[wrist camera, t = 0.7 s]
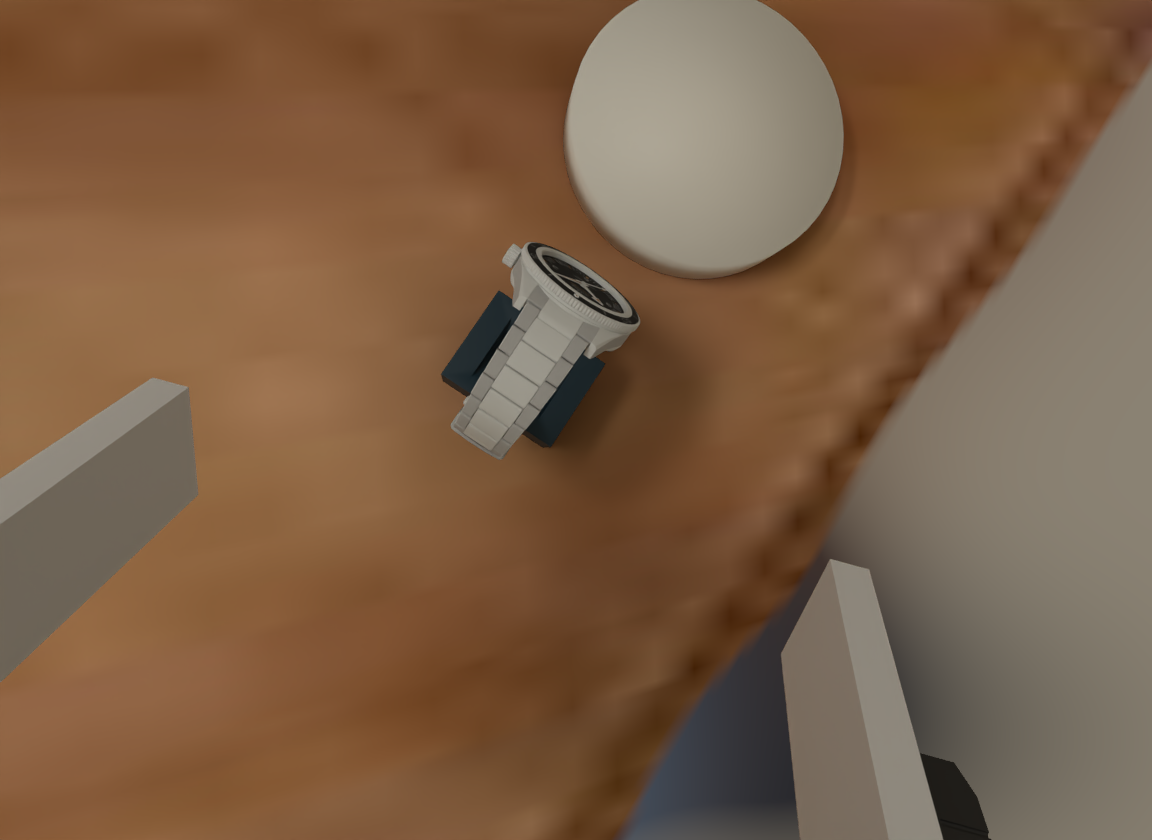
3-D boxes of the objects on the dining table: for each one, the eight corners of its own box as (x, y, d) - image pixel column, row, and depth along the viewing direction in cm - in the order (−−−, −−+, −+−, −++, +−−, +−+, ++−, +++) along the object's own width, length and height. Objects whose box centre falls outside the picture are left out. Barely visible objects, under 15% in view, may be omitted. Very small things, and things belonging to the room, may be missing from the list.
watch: (615, 337, 35) (684, 286, 24) (521, 478, 34) (550, 493, 23) (517, 269, 34) (542, 185, 23) (419, 411, 33) (398, 393, 22)
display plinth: (545, 23, 35) (552, -9, 32) (798, 13, 37) (822, -19, 34) (582, 292, 34) (592, 280, 32) (834, 265, 36) (861, 252, 34)
